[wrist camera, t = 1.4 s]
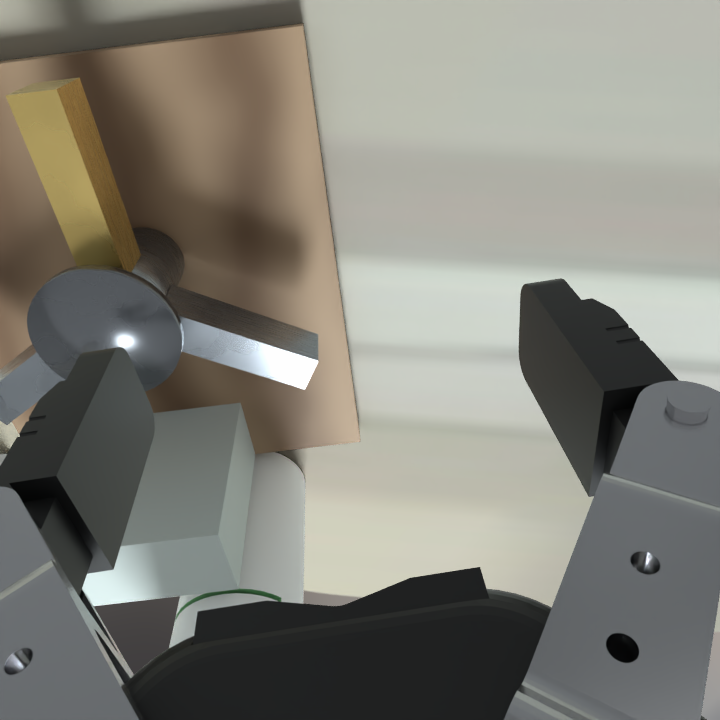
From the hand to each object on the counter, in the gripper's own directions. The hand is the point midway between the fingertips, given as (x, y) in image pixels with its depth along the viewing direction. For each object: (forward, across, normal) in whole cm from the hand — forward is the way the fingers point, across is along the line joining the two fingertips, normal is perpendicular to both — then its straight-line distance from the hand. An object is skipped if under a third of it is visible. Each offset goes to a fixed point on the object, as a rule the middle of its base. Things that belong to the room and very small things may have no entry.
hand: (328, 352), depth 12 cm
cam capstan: (+18, +9, +3) cm, 21 cm away
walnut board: (+20, +10, +7) cm, 24 cm away
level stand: (+19, +12, +17) cm, 28 cm away
